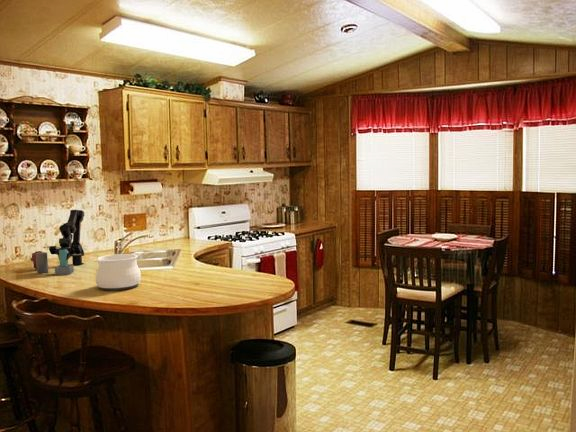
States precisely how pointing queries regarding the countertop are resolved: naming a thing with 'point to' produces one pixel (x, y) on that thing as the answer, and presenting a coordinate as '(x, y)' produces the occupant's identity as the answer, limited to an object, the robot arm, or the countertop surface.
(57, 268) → the block
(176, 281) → the countertop surface
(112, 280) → the pot
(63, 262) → the square bit
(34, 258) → the mechanical component
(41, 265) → the round bit
